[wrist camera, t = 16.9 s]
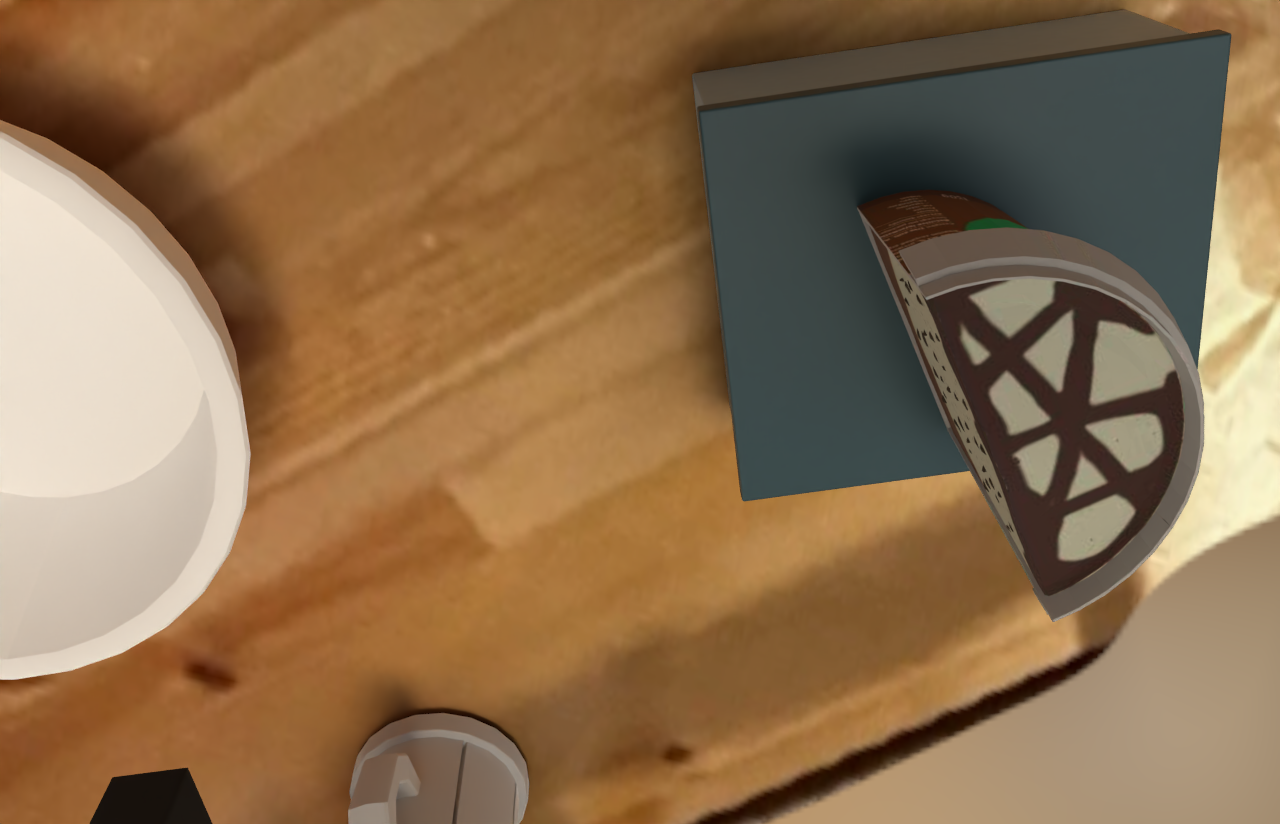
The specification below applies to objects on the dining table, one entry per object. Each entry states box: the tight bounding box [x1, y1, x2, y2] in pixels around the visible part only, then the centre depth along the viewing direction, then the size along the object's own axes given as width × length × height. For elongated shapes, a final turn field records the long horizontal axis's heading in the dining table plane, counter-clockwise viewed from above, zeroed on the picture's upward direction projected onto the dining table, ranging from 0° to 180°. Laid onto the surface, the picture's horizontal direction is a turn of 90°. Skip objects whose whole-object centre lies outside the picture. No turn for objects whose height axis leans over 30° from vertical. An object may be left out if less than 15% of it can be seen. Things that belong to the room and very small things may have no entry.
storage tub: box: [692, 10, 1231, 501], centre depth 42 cm, size 17×15×7 cm
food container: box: [857, 190, 1204, 622], centre depth 34 cm, size 12×6×10 cm, turn 26°
